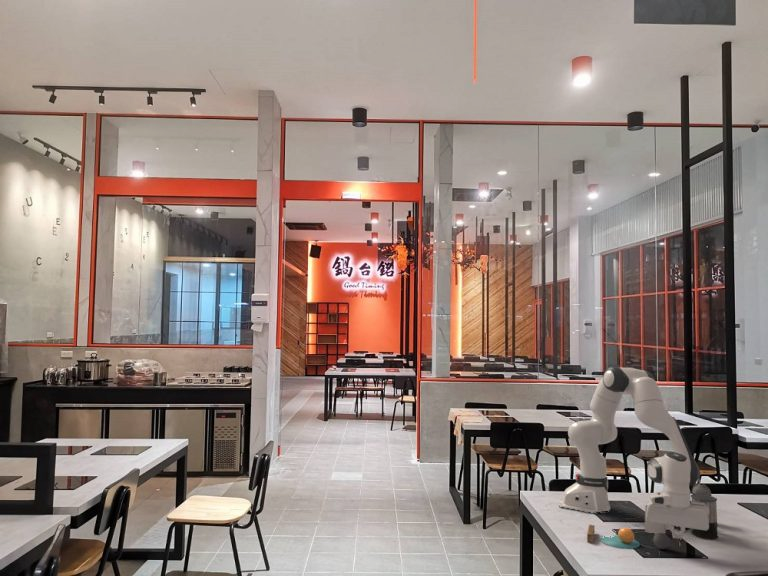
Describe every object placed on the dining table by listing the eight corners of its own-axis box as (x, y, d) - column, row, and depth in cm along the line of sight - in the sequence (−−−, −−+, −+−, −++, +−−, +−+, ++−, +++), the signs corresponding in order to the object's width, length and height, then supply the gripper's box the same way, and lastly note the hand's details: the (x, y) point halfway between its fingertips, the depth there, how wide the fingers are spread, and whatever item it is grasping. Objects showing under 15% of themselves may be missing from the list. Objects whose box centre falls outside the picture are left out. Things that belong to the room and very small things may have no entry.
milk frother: (720, 541, 214) (719, 501, 216) (674, 535, 220) (673, 496, 221) (713, 530, 228) (712, 492, 229) (670, 524, 233) (669, 488, 235)
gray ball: (674, 544, 202) (664, 555, 203) (672, 536, 207) (662, 547, 208) (660, 534, 203) (651, 545, 204) (658, 527, 208) (649, 537, 209)
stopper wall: (587, 542, 210) (587, 534, 211) (589, 532, 221) (589, 524, 222) (593, 543, 210) (592, 534, 210) (594, 533, 221) (594, 525, 221)
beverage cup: (715, 525, 233) (713, 476, 235) (695, 524, 235) (694, 474, 237) (708, 520, 240) (707, 472, 242) (690, 518, 242) (688, 470, 244)
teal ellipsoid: (598, 544, 208) (598, 544, 208) (600, 533, 221) (600, 532, 221) (640, 551, 202) (640, 550, 202) (639, 538, 215) (639, 538, 215)
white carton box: (663, 535, 220) (663, 509, 220) (645, 532, 224) (644, 506, 224) (665, 533, 222) (665, 507, 223) (647, 529, 227) (646, 504, 227)
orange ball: (637, 538, 207) (626, 548, 208) (637, 534, 212) (626, 543, 213) (625, 526, 209) (614, 536, 210) (625, 522, 214) (615, 531, 215)
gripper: (708, 501, 204) (708, 540, 203) (646, 493, 213) (646, 530, 212) (710, 506, 199) (711, 546, 198) (646, 497, 207) (646, 536, 206)
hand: (677, 538), depth 205 cm, fingers closed
